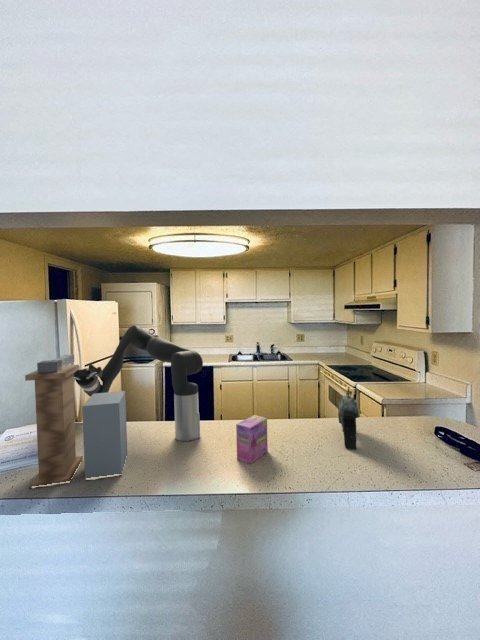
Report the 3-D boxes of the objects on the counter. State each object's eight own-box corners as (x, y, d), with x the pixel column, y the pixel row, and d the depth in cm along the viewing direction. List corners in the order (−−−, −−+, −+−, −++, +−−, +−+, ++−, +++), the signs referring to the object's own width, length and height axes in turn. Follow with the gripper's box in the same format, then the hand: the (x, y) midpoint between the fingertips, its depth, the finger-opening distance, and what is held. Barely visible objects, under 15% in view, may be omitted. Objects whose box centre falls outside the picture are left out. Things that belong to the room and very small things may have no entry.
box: (250, 464, 95) (249, 427, 95) (236, 459, 99) (235, 423, 98) (268, 451, 103) (267, 417, 103) (254, 447, 107) (253, 414, 106)
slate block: (127, 454, 104) (125, 391, 103) (121, 475, 90) (119, 402, 90) (95, 458, 101) (93, 393, 101) (85, 481, 88) (82, 406, 87)
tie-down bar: (61, 362, 105) (61, 353, 105) (77, 361, 107) (77, 352, 107) (37, 373, 86) (37, 363, 85) (57, 372, 87) (56, 361, 87)
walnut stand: (82, 460, 100) (78, 364, 99) (69, 483, 87) (65, 372, 86) (49, 464, 98) (44, 366, 97) (30, 489, 84) (25, 375, 83)
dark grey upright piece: (360, 452, 101) (359, 393, 101) (339, 450, 103) (338, 392, 102) (353, 429, 120) (353, 379, 120) (336, 428, 122) (336, 379, 122)
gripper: (70, 372, 129) (58, 358, 115) (106, 370, 132) (98, 356, 119) (68, 390, 126) (55, 377, 112) (105, 387, 129) (97, 375, 115)
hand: (77, 367), depth 115 cm, fingers open, 8 cm apart
